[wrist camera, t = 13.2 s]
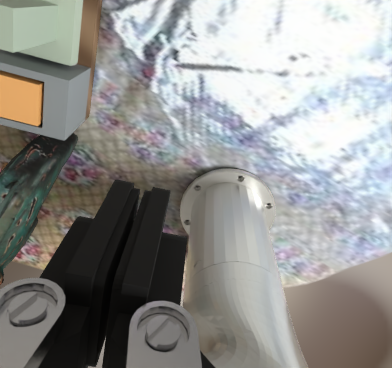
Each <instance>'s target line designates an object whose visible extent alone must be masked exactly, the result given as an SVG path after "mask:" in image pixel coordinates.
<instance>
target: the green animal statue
mask: <svg viewBox="0 0 392 368" xmlns="http://www.w3.org/2000/svg"><path fill="white" fill-rule="evenodd" d="M77 140H78V137H77V136H76V135H75V134H74V133H72V134H71V135H70V136H69V137H68V138H67V139H66V140H65V141H64V140H60V139H56V138H52V137H48V136H44V135H40V136H39V137H37V138H36V139H34V140H33V141H31V142H30V143H29V144H28V145H27V146H26V147H25V148H24V149H23V150H22V151H21V152H19V153H18V154H17V155H16V156H15V157H14V158H13V159H12V160H11V161H10V162H9V163H8V164H7V166H6V167H5V168H4V169H3V170H2V171H1V172H0V285H1V284H2V283H3V281H4V279H3V276H4V274H3V268H5V267H6V266H7V265H8V264H9V263H10V262H11V261H12V260H13V259H14V257H15V256H16V255H17V253H18V252H19V251H20V250H21V248H22V247H23V246H24V244H25V243H26V241H27V240H28V238H29V236H30V235H31V233H32V232H33V230H34V228H35V226H36V225H37V222H38V219H37V214H38V212H39V210H40V208H41V206H42V204H43V202H44V200H45V198H46V197H47V195H48V193H49V191H50V189H51V187H52V186H53V184H54V182H55V180H56V178H57V177H58V175H59V173H60V171H61V169H62V167H63V166H64V164H65V163H66V161H67V160H68V158H69V157H70V155H71V154H72V152H73V150H74V148H75V146H76V144H77Z"/></svg>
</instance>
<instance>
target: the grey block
mask: <svg viewBox="0 0 392 368" xmlns="http://www.w3.org/2000/svg"><path fill="white" fill-rule="evenodd" d="M90 70H91V68H89V67H86V66H82V65H78V64H76V65H74V66H73V65H72V66H69V65H65V64H61V63H58V62H54V61H50V60H47V59H43V58H39V57H36V56H32V55H28V54H24V53H21V52H14V53H12V52H9V51H5V50H1V49H0V71H5V72H9V73H13V74H17V75H20V76H24V77H28V78H32V79H35V80H39V81H43V82H44V103H43V123H41V124H40V125H39V126H35V125H31V124H27V123H23V122H19V121H15V120H11V119H7V118H3V117H0V125H4V126H8V127H12V128H16V129H20V130H24V131H28V132H32V133H36V134H40V135H44V136H48V137H52V138H56V139H60V140H64V141H65V140H66V139H67V138H68V137H69V136H70V135H71V134H72V133H73V132H74V131H75V130H76V129H77V128H78V127H79V126H80V125H81V124H82V123H83V122H84V121H85V117H86V108H87V98H88V89H89V80H90Z"/></svg>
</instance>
